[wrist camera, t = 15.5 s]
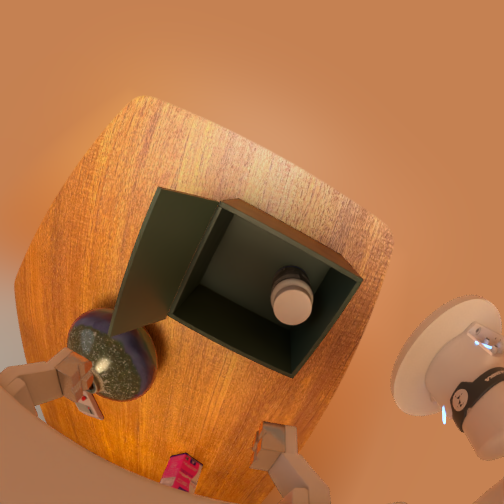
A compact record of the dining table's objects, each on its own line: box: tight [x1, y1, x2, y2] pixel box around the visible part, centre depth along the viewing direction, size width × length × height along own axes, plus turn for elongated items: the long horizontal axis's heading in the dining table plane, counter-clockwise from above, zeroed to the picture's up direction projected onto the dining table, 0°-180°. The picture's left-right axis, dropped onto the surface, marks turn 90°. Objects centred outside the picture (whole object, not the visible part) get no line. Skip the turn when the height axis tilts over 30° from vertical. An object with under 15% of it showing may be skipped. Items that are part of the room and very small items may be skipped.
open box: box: [167, 199, 363, 379], centre depth 30 cm, size 15×13×10 cm
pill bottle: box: [271, 265, 313, 325], centre depth 31 cm, size 5×5×8 cm
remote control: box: [76, 391, 104, 420], centre depth 45 cm, size 7×16×3 cm, turn 3°
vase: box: [67, 307, 158, 402], centre depth 34 cm, size 15×15×13 cm
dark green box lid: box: [108, 187, 219, 337], centre depth 21 cm, size 7×13×1 cm
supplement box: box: [160, 453, 203, 494], centre depth 42 cm, size 6×6×12 cm
